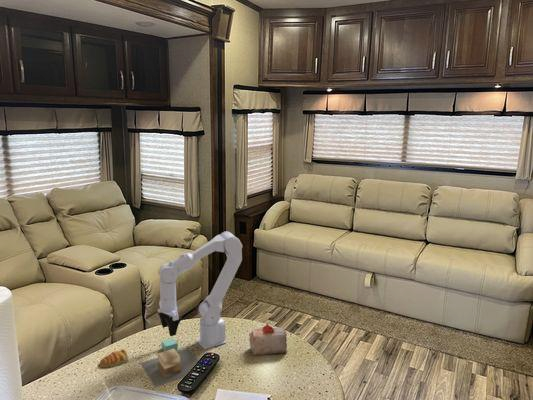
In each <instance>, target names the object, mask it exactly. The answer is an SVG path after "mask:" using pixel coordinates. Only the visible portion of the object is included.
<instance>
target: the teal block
mask: <svg viewBox="0 0 533 400" xmlns="http://www.w3.org/2000/svg"><path fill="white" fill-rule="evenodd" d="M178 343H179V342H177V341H176V340H175V338H174V337H171V338H168V339H165V340H161V349H162V351H163V352H164V351H168V350H171V349H175V350H176V352H177V351H179V348H178V345H179V344H178Z"/></svg>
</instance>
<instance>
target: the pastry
mask: <svg viewBox="0 0 533 400" xmlns="http://www.w3.org/2000/svg"><path fill="white" fill-rule="evenodd" d="M128 362H130V359H129V355H128V353H127V351H126V349H123V348H122V349H121V350H115V351H112V352H111V353H110V354H108V355H106V356H104V357H103V358H102V359H100V362H99V367H101V368H110V367H116V366H119V365H122V364H126V363H128Z"/></svg>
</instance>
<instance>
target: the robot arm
mask: <svg viewBox="0 0 533 400" xmlns="http://www.w3.org/2000/svg"><path fill="white" fill-rule="evenodd" d="M242 250H243V244H242V242H241V240H240V238H238V237H237V236H235V235H234V234H233V233H232V232H230V231H223V232H221V233H220V234H217V235H216V236H215V237H213V238H212V239H211V240H210V241H207V242H206V243H205V244H203V245H202V246H200V247H198V248H196V250H194V251H192V252H185V253H183V252H182V253H180V254H179V256H178V257H177V258H175V259H173V260H169V261H168V263H167V262H166V263H163V264H161V265H160V267H159V269H158V270H157V273H158V276H159V277H160V279H159V294H160V295H159V296H160V297H159V298H160V299H159V301H158V302H159V303H158V304H159V305H158V306H159V308H157V309H156V310H155V311H156V312H157V314H158V316H159V319H160V324H161V326H162V328H163V329H164V328H167V327H168V334H169V336H170V337H174V336H177V332H178V327H179V325H180V323H181V321H182V317H181V315H179V313H178V306H177V283H176V282H177V281H176V280H177V279H178V276H180V275H182V274H183V273H185V272H187V271H188V270H190V269H192V268H193V267H194V266H195V264H196V263H197V261H199V260H201V259H202V258H204V257H206V256H208V255H210V254H212V253H214V252H218V253H225V254H226V258H227V259H226V260H225V263H224V266H223V267H222V269H221V271H220V273H219V276H218V277H217V280H216V281H215V284H214V285H213V287H212V289H211V292H210V294H209V295H207V296H206V297H205V298H204V300H203V301H202V302H201V303H200V304H199V306H198V313H199V314H200V316H201V317H200V319H199V338H197V339H195V340H196V343H198V344H199V345H200V346H201V347H202V348H203V349H204V350H207V349H210V348H213V347H217V346H220V345H224V344H226V343H227V340H226V323H225V320H224V318H223V317H221V312H222V309H223V300H224V298H225V296H226V294H227V292H228V290H229V288H230V286H231V284H232V281H233V280H234V278H235V275H236V274H237V271H238V269H239V267H240V266H241V263H242V261H243V251H242Z"/></svg>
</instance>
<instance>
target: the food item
mask: <svg viewBox="0 0 533 400" xmlns="http://www.w3.org/2000/svg"><path fill="white" fill-rule="evenodd" d="M248 334H249V339H248V340H249V341H248V342H249V346H250V349H251V351H252V354H253V355H254V356H263V355H270V354H271V355H272V354H283V353H288V350H287V349H288V348H287V347H288V346H287V344H288V343H287V341H288V340H287V339H288V338H287V334H288V333H287V332H286V329H285V327H284V326H283V327H273V326H270V325H269V324H268V323H266V324H265V325H264V326H263V327H262V328H257V329H252V331H251V332H249V333H248Z"/></svg>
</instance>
